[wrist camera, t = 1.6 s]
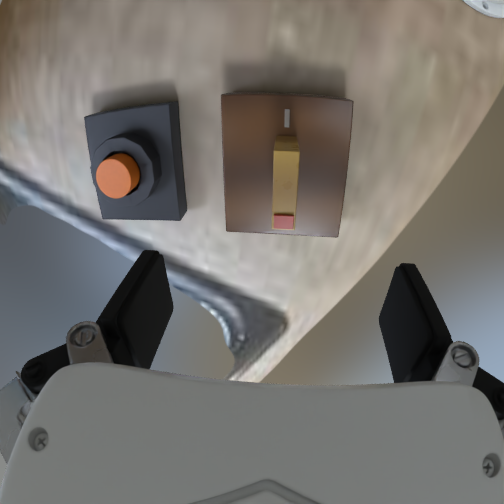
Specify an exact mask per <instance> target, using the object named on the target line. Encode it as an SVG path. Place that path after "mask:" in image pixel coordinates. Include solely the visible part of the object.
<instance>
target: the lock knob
mask: <svg viewBox="0 0 504 504" xmlns="http://www.w3.org/2000/svg"><path fill="white" fill-rule="evenodd" d="M299 161H300V150H299V145H298V140H297V137H295V136H276V140H275V146H274V156H273V197H272V229H280V230H295V223H296V209H297V195H298V178H299Z"/></svg>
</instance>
